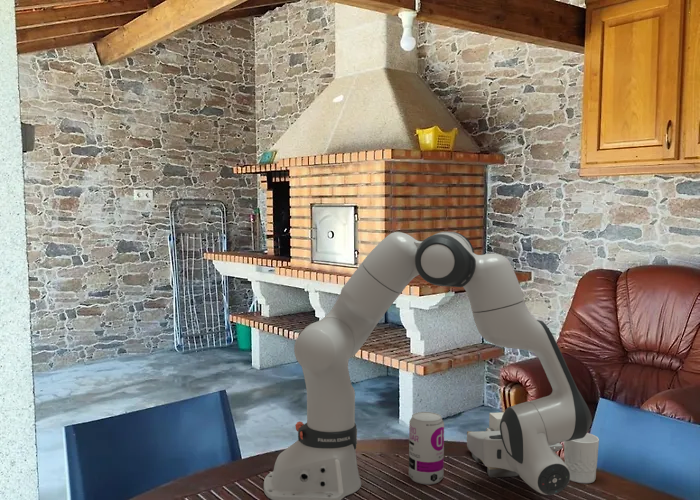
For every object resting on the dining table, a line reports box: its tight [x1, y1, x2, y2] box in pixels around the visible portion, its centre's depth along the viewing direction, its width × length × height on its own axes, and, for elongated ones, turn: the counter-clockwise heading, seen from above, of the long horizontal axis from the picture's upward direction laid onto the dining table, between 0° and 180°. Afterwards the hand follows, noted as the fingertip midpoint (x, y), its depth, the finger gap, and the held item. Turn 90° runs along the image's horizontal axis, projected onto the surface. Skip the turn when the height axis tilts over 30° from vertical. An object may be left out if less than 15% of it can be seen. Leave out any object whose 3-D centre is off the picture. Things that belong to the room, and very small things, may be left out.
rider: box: [488, 411, 505, 431], centre depth 152 cm, size 4×5×10 cm
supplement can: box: [408, 411, 445, 485], centre depth 148 cm, size 8×8×15 cm
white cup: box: [563, 432, 600, 484], centre depth 150 cm, size 8×8×10 cm
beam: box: [466, 430, 519, 478], centre depth 158 cm, size 8×17×6 cm, turn 8°
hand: (499, 430), depth 153 cm, fingers closed on rider, 4 cm apart
